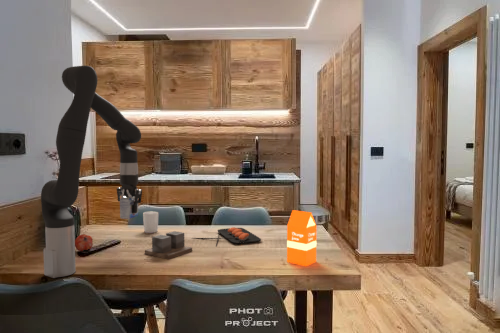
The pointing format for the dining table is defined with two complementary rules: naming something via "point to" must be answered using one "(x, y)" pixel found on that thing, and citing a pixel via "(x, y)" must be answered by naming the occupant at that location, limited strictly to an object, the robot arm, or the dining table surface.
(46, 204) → the robot arm
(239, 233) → the sushi plate
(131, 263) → the dining table surface
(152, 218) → the white cup
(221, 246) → the dining table surface
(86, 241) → the red tomato
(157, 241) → the display stand
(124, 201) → the medicine box
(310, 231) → the orange juice
